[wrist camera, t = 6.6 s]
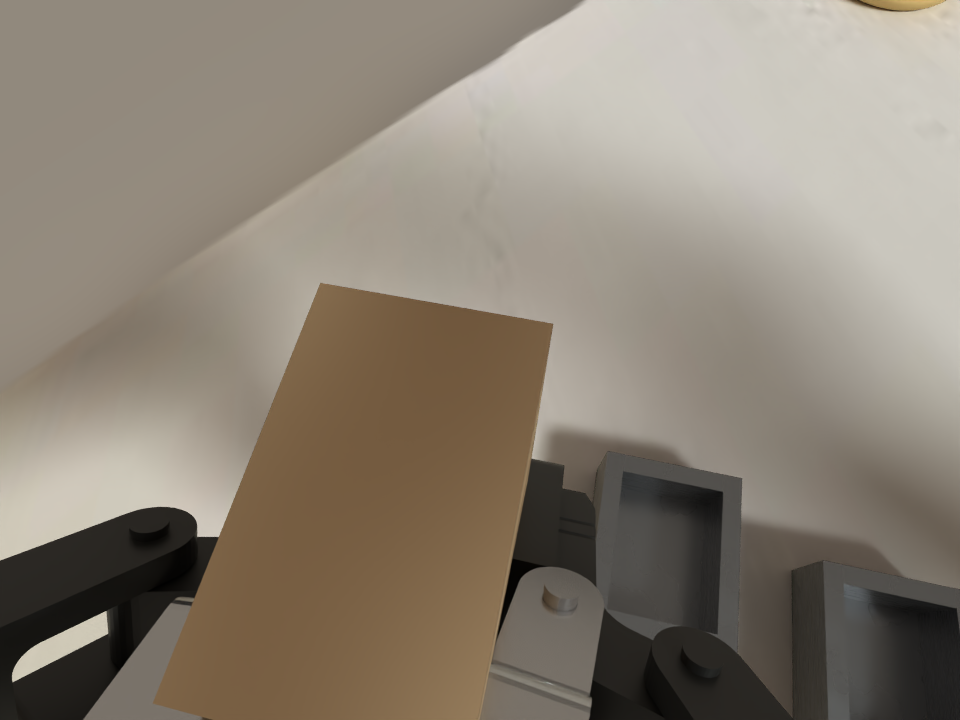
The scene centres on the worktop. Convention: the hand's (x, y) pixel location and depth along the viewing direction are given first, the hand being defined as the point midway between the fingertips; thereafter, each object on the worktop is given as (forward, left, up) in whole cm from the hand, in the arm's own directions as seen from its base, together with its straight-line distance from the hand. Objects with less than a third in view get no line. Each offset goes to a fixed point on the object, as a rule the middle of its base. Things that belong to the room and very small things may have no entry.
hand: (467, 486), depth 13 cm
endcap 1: (-8, 0, -17) cm, 19 cm away
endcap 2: (-16, +6, -17) cm, 25 cm away
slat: (+1, +2, -6) cm, 7 cm away
